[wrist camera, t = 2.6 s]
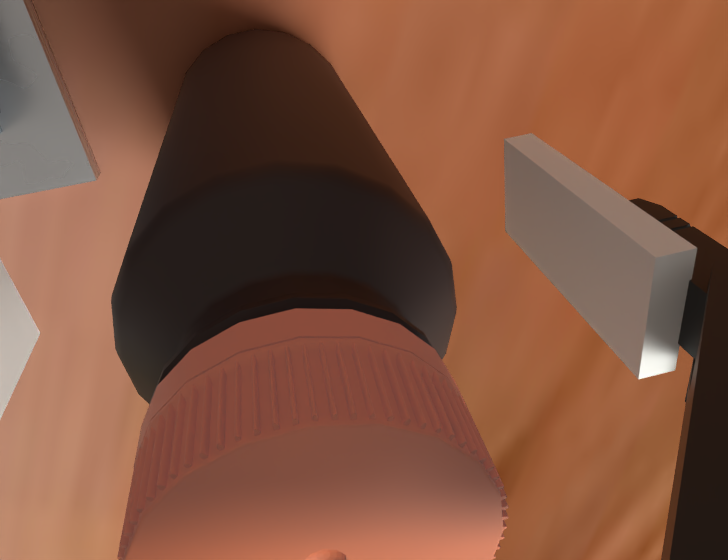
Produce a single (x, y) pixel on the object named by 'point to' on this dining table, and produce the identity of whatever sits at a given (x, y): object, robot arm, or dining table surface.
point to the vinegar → (292, 334)
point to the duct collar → (36, 111)
